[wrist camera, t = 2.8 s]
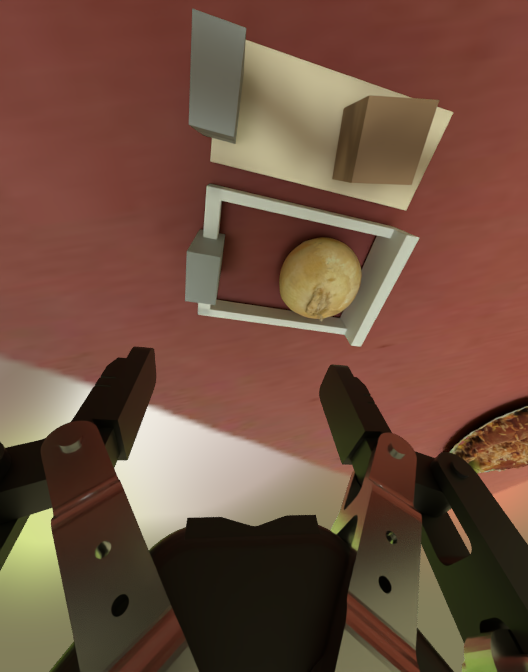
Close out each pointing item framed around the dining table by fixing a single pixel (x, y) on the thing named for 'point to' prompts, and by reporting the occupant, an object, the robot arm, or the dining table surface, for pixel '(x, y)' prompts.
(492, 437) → the rice dish
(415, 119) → the walnut cube
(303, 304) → the onion
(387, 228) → the grey rectangular frame
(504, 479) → the dining table surface
